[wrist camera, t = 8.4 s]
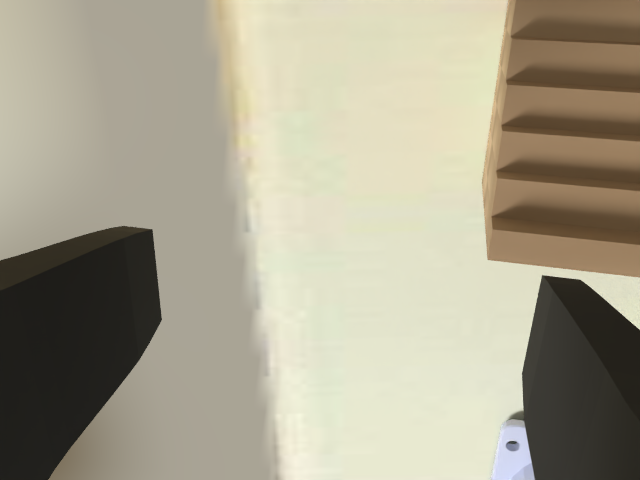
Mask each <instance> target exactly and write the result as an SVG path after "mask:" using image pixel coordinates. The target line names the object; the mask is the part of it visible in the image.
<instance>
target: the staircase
mask: <svg viewBox="0 0 640 480" xmlns="http://www.w3.org/2000/svg"><path fill="white" fill-rule="evenodd" d="M482 187H483V201H484V215H485V229H486V243H487V257H488V260H494V261H502V262H511V263H520V264H528V265H537V266H546V267H554V268H563V269H572V270H580V271H589V272H598V273H606V274H615V275H624V276H633V277H640V0H509V1H508V7H507V14H506V21H505V28H504V35H503V42H502V49H501V56H500V62H499V69H498V76H497V83H496V90H495V97H494V104H493V111H492V117H491V124H490V131H489V138H488V145H487V152H486V159H485V166H484V172H483V179H482Z"/></svg>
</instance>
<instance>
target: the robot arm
mask: <svg viewBox="0 0 640 480" xmlns="http://www.w3.org/2000/svg"><path fill="white" fill-rule="evenodd" d="M161 320H162V318H161V308H160V299H159V289H158V279H157V270H156V260H155V250H154V241H153V231H152V229H144V228H136V227H127V226H122V227H114V228H109V229H105V230H101V231H97V232H93V233H89V234H86V235H83V236H79V237H76V238H73V239H70V240H66V241H63V242H60V243H56V244H53V245H50V246H47V247H44V248H41V249H38V250H34V251H31V252H28V253H25V254H21V255H19V256H15V257H11V258H8V259H4V260H1V261H0V480H48V479H49V478H50V476H51V474H52V473H53V471H54V470H55V468H56V467H57V465H58V464H59V463H60V461H61V460H62V459H63V457H64V456H65V454H66V453H67V452H68V450H69V449H70V448H71V446H72V445H73V444H74V442H75V441H76V440H77V439H78V437H79V436H80V435H81V434H82V432H83V431H84V430H85V429H86V427H87V426H88V425H89V424H90V422H91V421H92V420H93V419H94V417H95V416H96V415H97V413H98V412H99V411H100V410H101V409H102V407H103V406H104V405H105V404H106V402H107V401H108V400H109V399H110V397H111V396H112V395H113V394H114V392H115V391H116V390H117V388H118V387H119V386H120V385H121V383H122V382H123V381H124V379H125V378H126V377H127V376H128V374H129V373H130V372H131V370H132V369H133V368H134V366H135V365H136V364H137V362H138V361H139V359H140V358H141V356H142V354H143V353H144V351H145V349H146V348H147V346H148V344H149V343H150V341H151V339H152V337H153V335H154V333H155V332H156V330H157V328H158V326H159V324H160V322H161ZM522 381H523V406H524V421H523V420H517V419H511V420H508V421H506V422H504V423H503V424H502V426H501V429H500V435H499V440H498V445H497V450H496V455H495V460H494V465H493V471H492V476H491V480H640V330H639V329H638V328H637V327H636V326H634V325H633V324H632V323H631V322H630V321H629V320H627V319H626V318H625V317H624V316H623V315H622V314H620V313H619V312H618V311H617V310H616V309H615V308H614V307H613V306H611V305H610V304H609V303H608V302H607V301H606V300H605V299H603V298H602V297H601V296H600V295H599V294H598V293H596V292H595V291H594V290H593V289H592V288H590V287H589V286H588V285H587V284H585V283H584V282H582V281H581V280H577V279H569V278H560V277H552V276H543V275H542V279H541V284H540V289H539V293H538V298H537V303H536V308H535V313H534V318H533V323H532V328H531V333H530V337H529V342H528V347H527V352H526V357H525V362H524V367H523V372H522ZM509 441H516V442H518V443H516V444H510V443H507V442H509Z"/></svg>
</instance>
